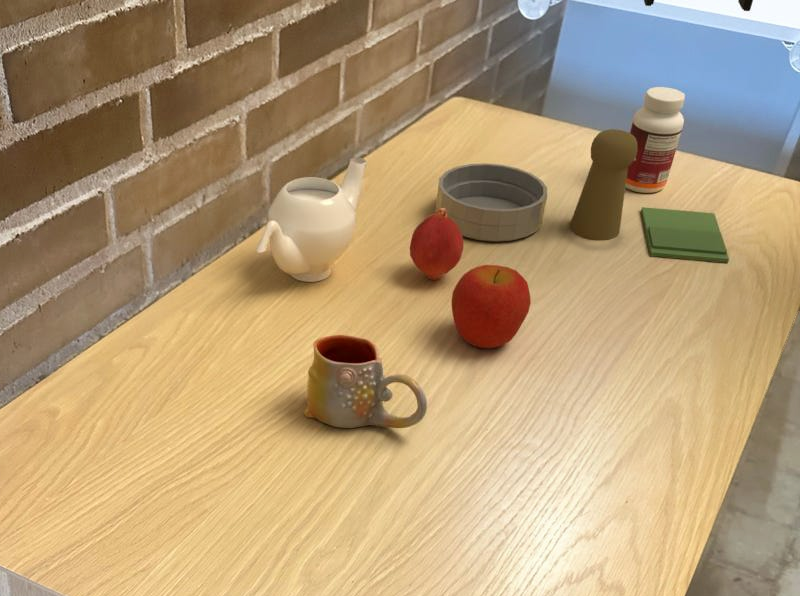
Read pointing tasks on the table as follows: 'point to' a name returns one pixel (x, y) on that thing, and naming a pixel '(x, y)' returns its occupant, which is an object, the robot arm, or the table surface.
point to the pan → (492, 201)
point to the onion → (436, 245)
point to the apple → (490, 305)
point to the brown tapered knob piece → (604, 186)
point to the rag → (683, 235)
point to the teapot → (313, 223)
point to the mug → (354, 385)
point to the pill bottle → (655, 139)
